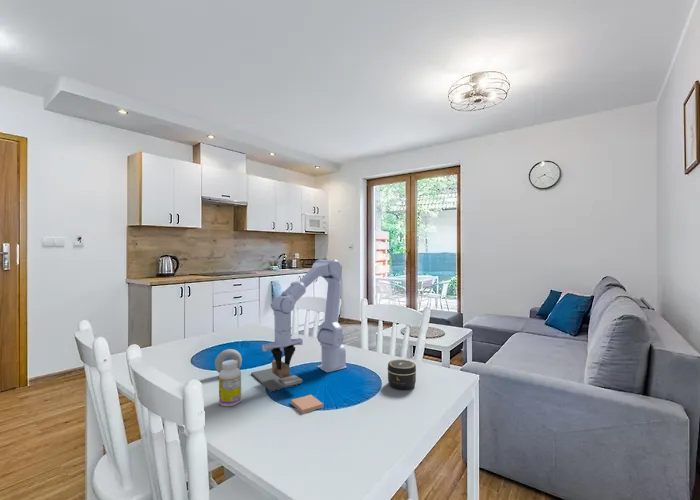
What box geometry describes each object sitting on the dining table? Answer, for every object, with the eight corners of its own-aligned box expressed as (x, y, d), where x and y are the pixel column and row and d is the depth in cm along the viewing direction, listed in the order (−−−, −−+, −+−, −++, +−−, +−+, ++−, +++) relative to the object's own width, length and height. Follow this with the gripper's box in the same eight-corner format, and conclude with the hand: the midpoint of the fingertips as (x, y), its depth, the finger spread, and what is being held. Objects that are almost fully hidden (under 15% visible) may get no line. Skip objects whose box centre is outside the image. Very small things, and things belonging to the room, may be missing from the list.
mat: (278, 368, 140) (278, 366, 140) (300, 384, 124) (300, 382, 124) (251, 374, 134) (251, 372, 134) (270, 391, 117) (270, 390, 117)
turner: (267, 373, 126) (267, 361, 126) (282, 370, 130) (282, 358, 130) (285, 386, 113) (285, 372, 113) (302, 382, 117) (302, 368, 117)
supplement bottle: (222, 398, 113) (222, 358, 113) (243, 397, 113) (243, 358, 113) (216, 407, 106) (216, 366, 106) (238, 406, 107) (238, 365, 106)
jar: (384, 388, 120) (384, 366, 120) (391, 378, 129) (391, 357, 129) (413, 392, 116) (413, 370, 116) (418, 381, 126) (418, 360, 126)
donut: (215, 379, 129) (215, 352, 129) (214, 376, 132) (213, 349, 132) (243, 374, 134) (242, 348, 134) (241, 371, 137) (240, 346, 137)
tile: (311, 394, 113) (323, 403, 106) (311, 399, 113) (323, 408, 106) (291, 399, 109) (302, 409, 102) (291, 404, 109) (302, 415, 102)
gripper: (296, 324, 130) (296, 360, 130) (258, 330, 121) (259, 368, 121) (305, 328, 124) (305, 366, 124) (266, 334, 116) (266, 374, 116)
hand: (283, 367), depth 122 cm, fingers closed on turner, 2 cm apart
